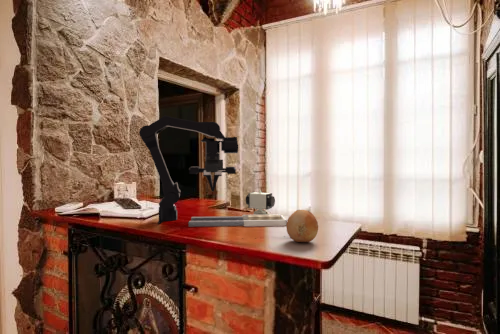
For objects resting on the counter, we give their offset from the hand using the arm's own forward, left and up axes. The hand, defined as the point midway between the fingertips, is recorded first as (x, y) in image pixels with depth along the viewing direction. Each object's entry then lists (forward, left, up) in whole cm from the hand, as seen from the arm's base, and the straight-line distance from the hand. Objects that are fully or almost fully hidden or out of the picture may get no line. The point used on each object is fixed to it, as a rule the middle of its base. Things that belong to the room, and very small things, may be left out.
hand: (212, 191), depth 127 cm
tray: (+20, -10, -12) cm, 25 cm away
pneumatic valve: (+20, +2, -12) cm, 24 cm away
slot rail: (+2, -10, -12) cm, 16 cm away
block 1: (+16, -10, -11) cm, 22 cm away
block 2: (+20, -10, -11) cm, 25 cm away
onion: (+29, -34, -12) cm, 46 cm away
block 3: (+24, -10, -11) cm, 28 cm away
